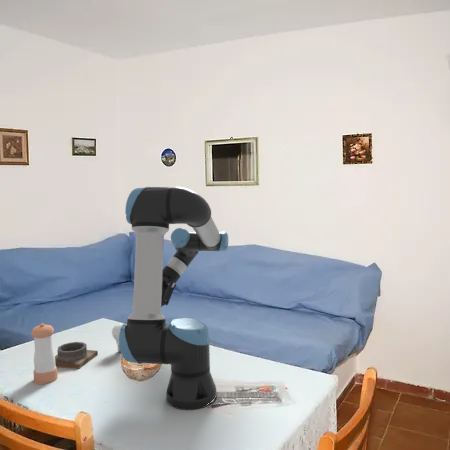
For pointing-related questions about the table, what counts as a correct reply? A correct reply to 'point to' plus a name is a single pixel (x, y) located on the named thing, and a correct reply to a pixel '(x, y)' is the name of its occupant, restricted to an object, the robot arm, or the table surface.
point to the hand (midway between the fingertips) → (141, 313)
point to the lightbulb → (116, 333)
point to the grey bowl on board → (73, 355)
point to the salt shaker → (44, 355)
